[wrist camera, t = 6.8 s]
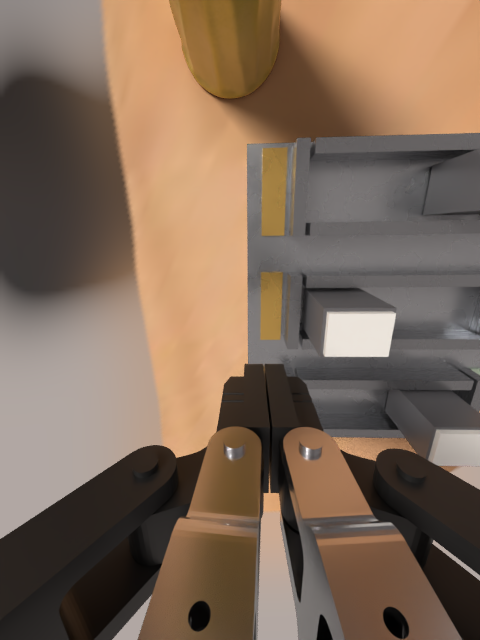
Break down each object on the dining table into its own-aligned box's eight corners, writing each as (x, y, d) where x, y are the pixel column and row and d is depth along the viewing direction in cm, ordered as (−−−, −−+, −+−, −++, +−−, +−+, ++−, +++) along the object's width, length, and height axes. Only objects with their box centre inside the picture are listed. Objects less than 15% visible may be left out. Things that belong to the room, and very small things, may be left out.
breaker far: (390, 381, 22) (438, 431, 17) (439, 381, 22) (503, 432, 17) (385, 410, 23) (428, 467, 18) (431, 411, 23) (489, 468, 18)
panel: (247, 150, 19) (246, 133, 15) (543, 142, 18) (609, 123, 15) (248, 411, 26) (248, 438, 22) (460, 413, 25) (493, 442, 22)
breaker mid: (304, 288, 20) (325, 310, 14) (357, 287, 20) (400, 310, 14) (301, 325, 21) (321, 359, 15) (353, 325, 21) (391, 359, 15)
